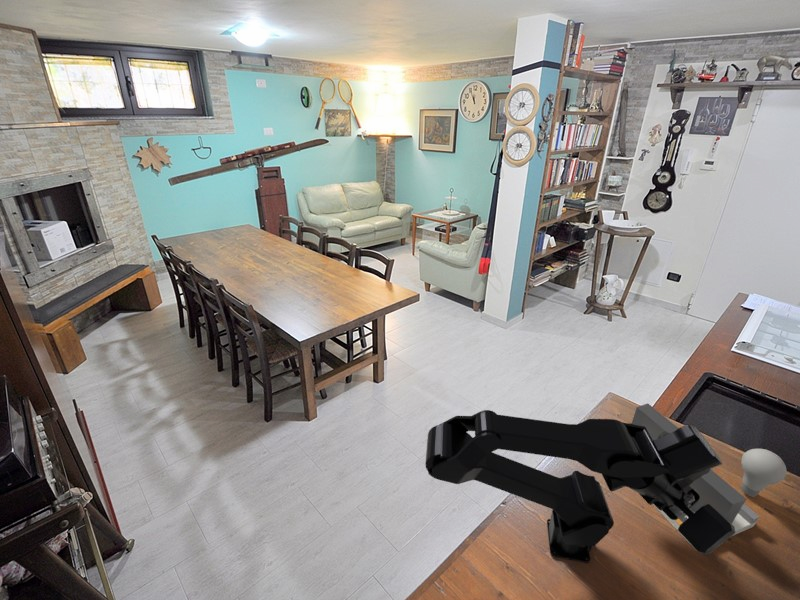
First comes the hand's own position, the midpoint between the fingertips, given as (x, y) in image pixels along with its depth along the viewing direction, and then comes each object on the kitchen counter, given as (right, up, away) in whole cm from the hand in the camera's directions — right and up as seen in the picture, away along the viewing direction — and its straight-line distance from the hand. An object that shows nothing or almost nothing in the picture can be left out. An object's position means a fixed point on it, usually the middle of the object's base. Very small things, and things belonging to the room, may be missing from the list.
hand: (682, 499), depth 69 cm
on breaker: (+5, +3, +15) cm, 16 cm away
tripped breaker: (+6, -3, +4) cm, 7 cm away
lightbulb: (+18, -3, +7) cm, 20 cm away
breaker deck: (+4, -2, +10) cm, 11 cm away
